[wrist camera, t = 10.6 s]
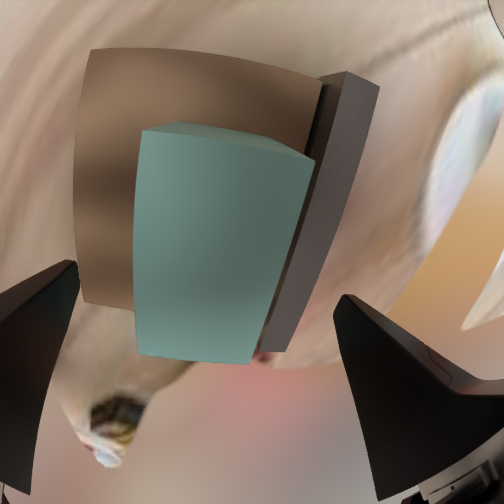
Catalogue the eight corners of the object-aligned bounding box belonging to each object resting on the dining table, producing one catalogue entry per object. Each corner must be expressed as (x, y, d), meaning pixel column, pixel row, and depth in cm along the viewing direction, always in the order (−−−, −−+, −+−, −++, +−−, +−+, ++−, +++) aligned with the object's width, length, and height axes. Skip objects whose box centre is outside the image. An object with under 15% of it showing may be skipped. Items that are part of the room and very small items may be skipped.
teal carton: (273, 138, 14) (321, 163, 8) (238, 278, 18) (253, 364, 12) (176, 121, 12) (142, 130, 6) (158, 268, 17) (138, 354, 10)
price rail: (279, 320, 22) (288, 352, 19) (251, 318, 21) (258, 351, 18) (353, 90, 14) (384, 88, 11) (320, 77, 13) (346, 71, 10)
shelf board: (250, 313, 21) (252, 324, 20) (88, 292, 18) (83, 301, 17) (315, 83, 13) (322, 81, 12) (98, 52, 10) (90, 49, 9)
